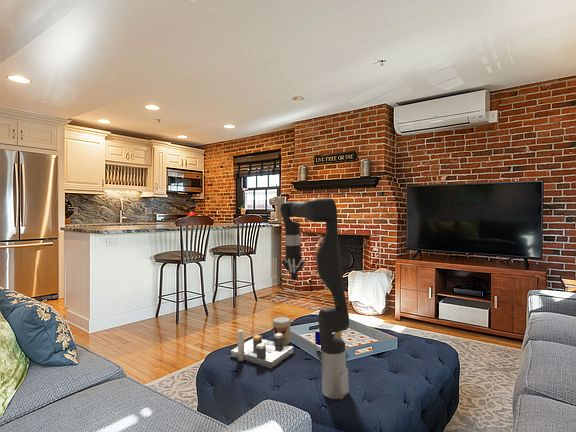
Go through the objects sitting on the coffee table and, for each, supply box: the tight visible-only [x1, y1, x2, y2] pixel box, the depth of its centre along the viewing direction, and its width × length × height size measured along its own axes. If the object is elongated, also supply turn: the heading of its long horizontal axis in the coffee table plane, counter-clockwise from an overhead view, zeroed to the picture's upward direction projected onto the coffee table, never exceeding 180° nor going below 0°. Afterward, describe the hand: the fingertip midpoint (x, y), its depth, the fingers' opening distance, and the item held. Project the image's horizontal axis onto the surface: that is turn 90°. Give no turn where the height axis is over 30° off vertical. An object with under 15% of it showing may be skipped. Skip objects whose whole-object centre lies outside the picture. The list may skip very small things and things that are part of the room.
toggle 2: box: [256, 343, 266, 358], centre depth 169 cm, size 3×3×5 cm
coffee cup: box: [272, 316, 292, 345], centre depth 192 cm, size 9×9×12 cm
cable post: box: [236, 329, 245, 362], centre depth 172 cm, size 4×4×14 cm
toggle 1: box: [252, 334, 263, 348], centre depth 179 cm, size 3×3×5 cm
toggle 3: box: [273, 333, 283, 347], centre depth 180 cm, size 3×3×5 cm
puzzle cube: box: [314, 328, 343, 345], centre depth 181 cm, size 10×10×10 cm
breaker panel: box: [230, 338, 294, 369], centre depth 178 cm, size 24×18×3 cm
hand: (294, 280), depth 176 cm, fingers closed
